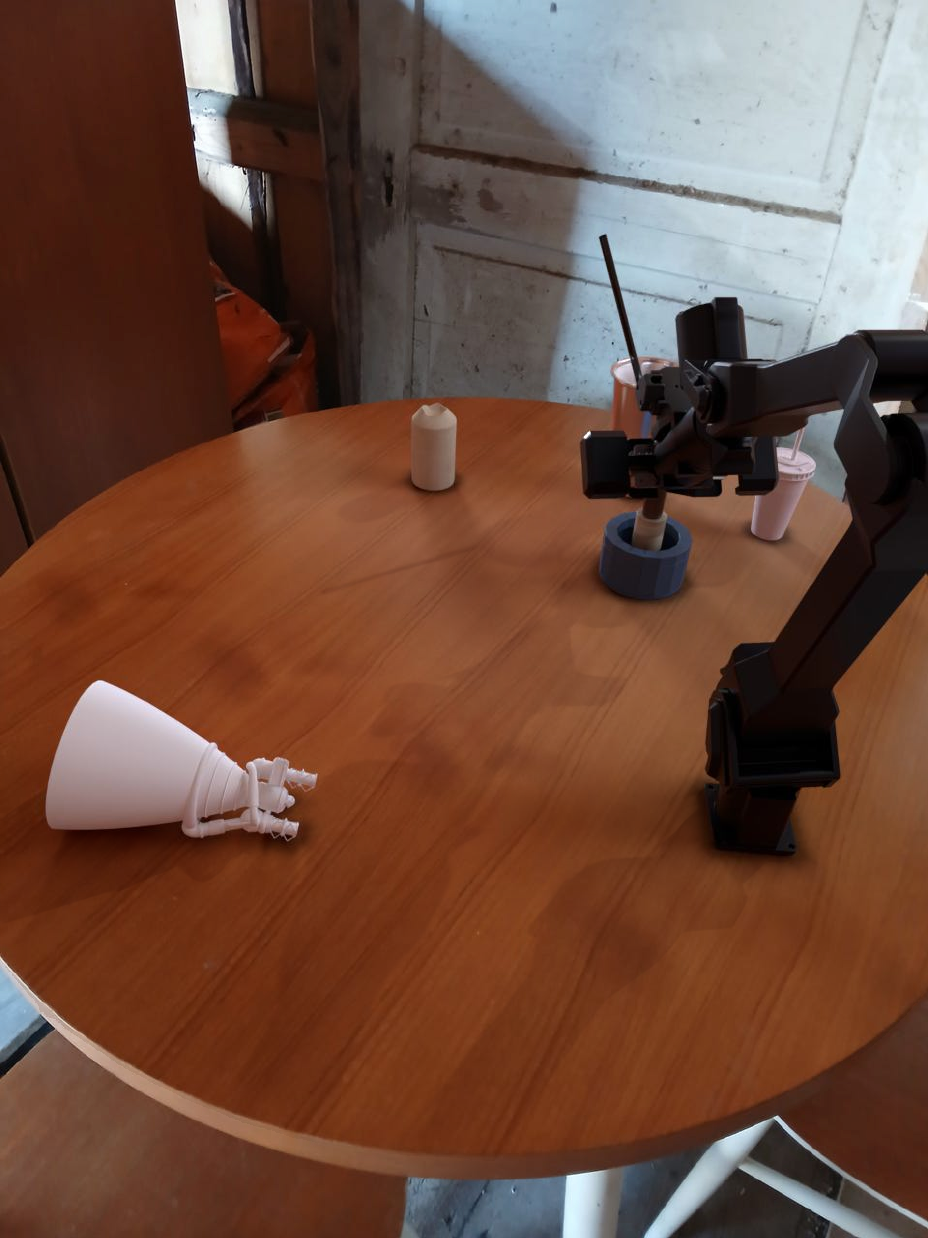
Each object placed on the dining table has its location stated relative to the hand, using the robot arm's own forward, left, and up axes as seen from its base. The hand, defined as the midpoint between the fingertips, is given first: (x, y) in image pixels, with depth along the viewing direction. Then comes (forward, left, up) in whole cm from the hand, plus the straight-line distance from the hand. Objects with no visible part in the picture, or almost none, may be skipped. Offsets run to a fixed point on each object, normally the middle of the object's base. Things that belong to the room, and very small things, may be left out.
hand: (652, 486), depth 95 cm
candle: (+17, +25, -11) cm, 32 cm away
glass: (+19, 0, -11) cm, 21 cm away
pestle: (-1, 0, -7) cm, 7 cm away
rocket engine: (-40, +39, -11) cm, 57 cm away
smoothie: (+10, -16, -11) cm, 22 cm away
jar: (-1, 0, -10) cm, 11 cm away
